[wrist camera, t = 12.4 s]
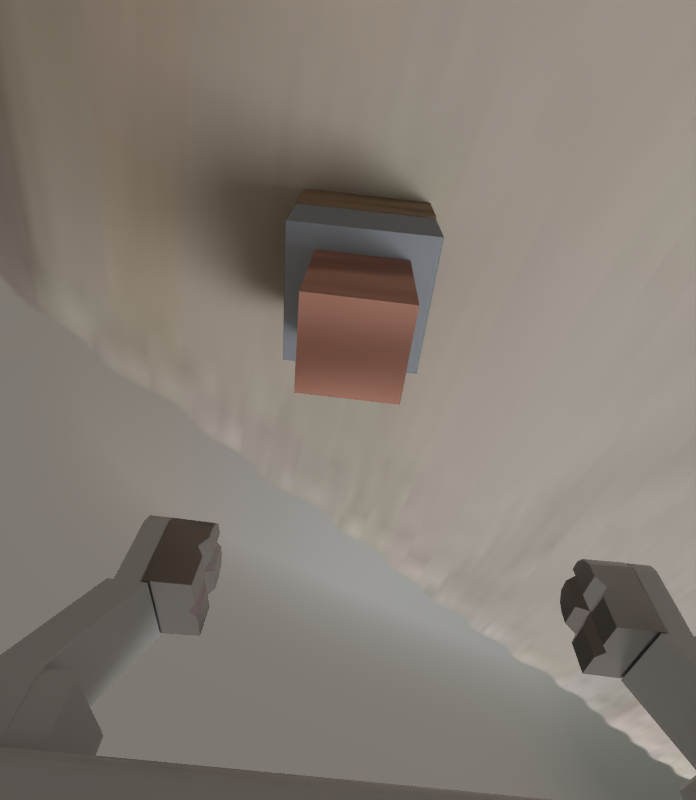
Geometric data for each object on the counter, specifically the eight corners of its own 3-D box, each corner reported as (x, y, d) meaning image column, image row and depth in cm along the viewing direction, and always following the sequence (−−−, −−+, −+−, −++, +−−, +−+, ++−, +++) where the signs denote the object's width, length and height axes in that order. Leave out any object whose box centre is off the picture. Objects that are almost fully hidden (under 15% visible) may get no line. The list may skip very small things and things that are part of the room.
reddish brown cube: (314, 249, 25) (299, 291, 20) (410, 260, 25) (419, 305, 20) (309, 336, 27) (294, 392, 22) (395, 346, 27) (399, 404, 22)
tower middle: (296, 203, 27) (285, 220, 24) (435, 218, 27) (443, 237, 24) (292, 330, 32) (282, 359, 28) (412, 343, 32) (416, 373, 28)
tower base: (305, 188, 30) (297, 201, 27) (429, 202, 31) (436, 217, 27) (300, 305, 35) (292, 328, 32) (408, 317, 35) (412, 341, 32)
